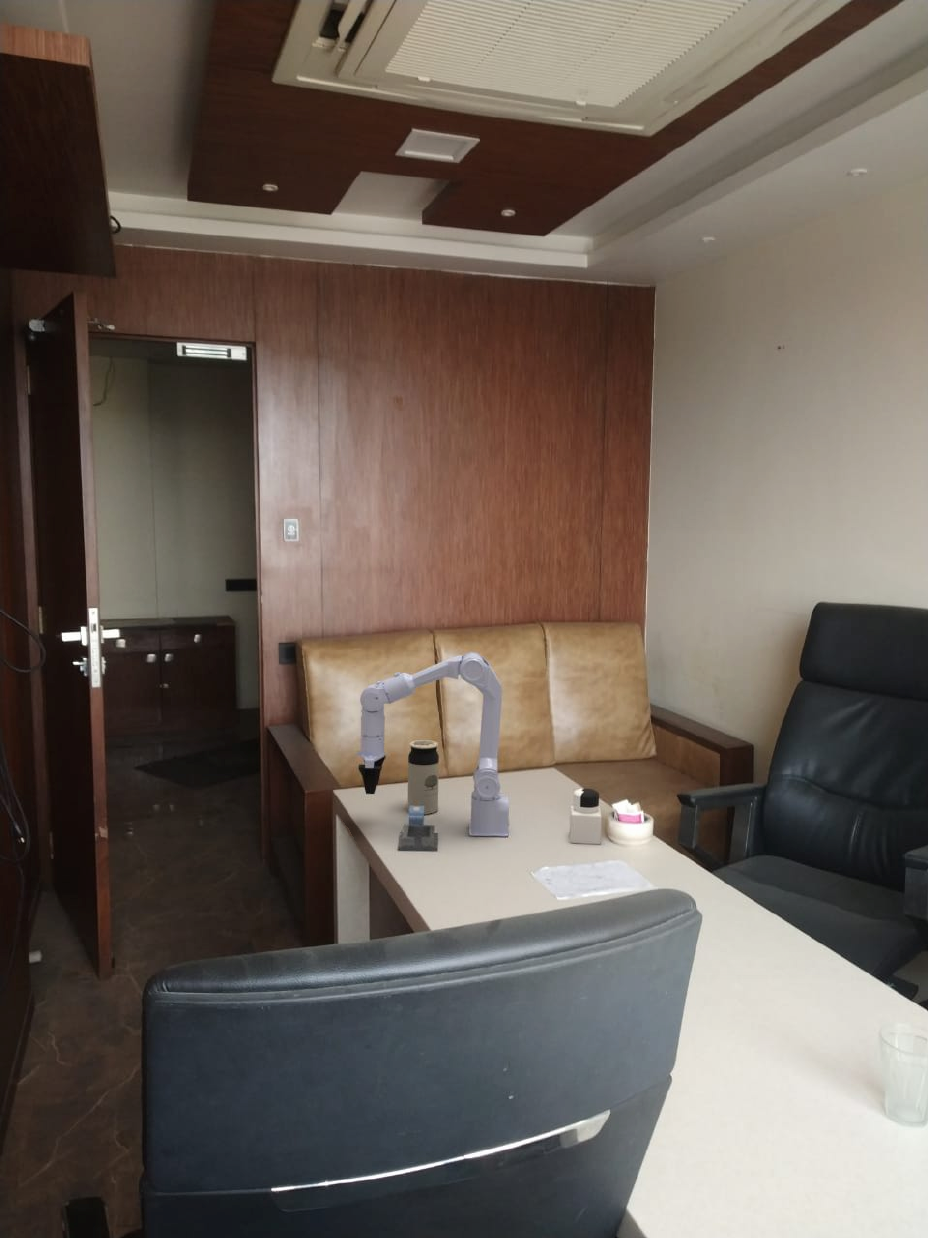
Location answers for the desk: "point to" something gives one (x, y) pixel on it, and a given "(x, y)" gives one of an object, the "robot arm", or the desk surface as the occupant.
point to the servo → (416, 815)
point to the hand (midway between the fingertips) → (372, 789)
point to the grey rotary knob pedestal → (585, 817)
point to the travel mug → (423, 775)
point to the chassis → (418, 838)
